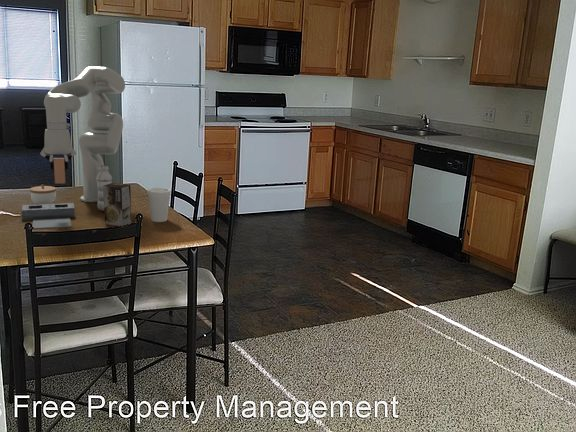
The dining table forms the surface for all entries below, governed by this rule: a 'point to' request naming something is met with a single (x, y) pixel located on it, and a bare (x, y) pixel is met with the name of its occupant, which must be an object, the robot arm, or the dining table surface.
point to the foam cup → (158, 203)
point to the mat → (51, 223)
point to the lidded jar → (43, 194)
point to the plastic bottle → (102, 184)
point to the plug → (59, 170)
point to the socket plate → (48, 211)
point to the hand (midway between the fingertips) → (59, 170)
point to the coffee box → (117, 204)
